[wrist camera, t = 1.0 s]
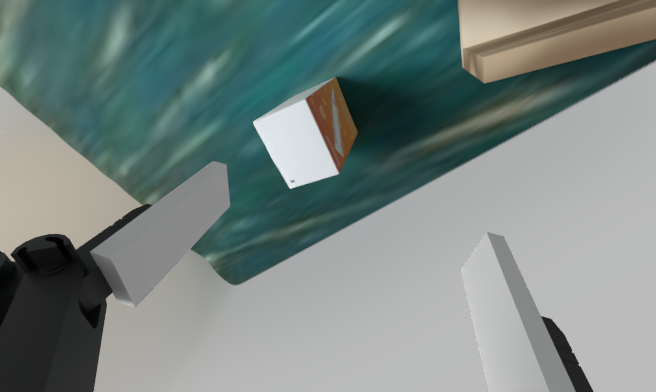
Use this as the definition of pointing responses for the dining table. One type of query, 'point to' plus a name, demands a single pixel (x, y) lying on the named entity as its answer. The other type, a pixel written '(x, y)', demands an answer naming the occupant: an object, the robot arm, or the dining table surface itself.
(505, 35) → the jig
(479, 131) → the dining table surface
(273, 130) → the small box
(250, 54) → the dining table surface
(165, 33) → the dining table surface
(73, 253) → the robot arm
